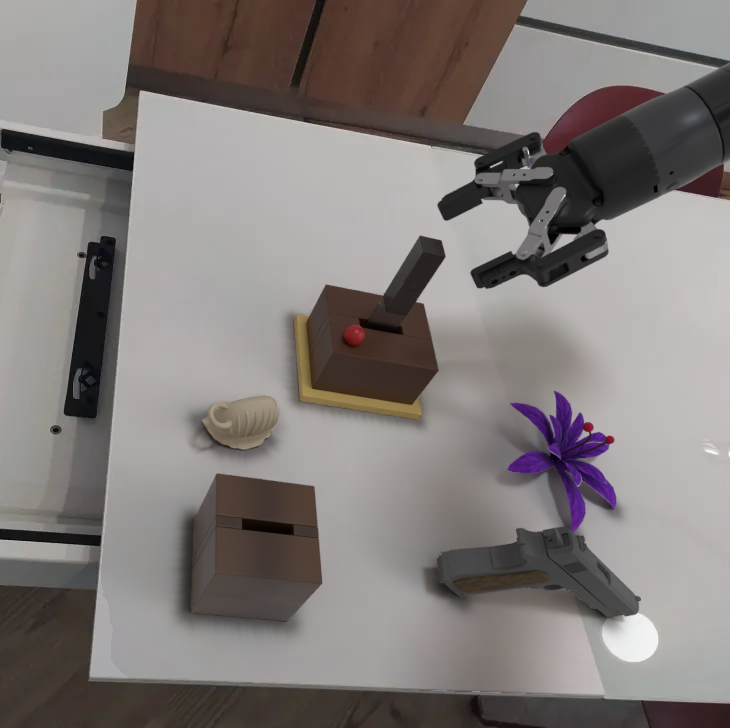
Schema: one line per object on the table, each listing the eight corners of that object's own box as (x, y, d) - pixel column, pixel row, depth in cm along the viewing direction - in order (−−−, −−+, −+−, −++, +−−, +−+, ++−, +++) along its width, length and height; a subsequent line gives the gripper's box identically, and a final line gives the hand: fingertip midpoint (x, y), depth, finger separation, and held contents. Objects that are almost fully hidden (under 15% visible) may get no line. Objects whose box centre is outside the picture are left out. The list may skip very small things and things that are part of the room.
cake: (402, 339, 83) (439, 286, 77) (418, 420, 77) (459, 369, 70) (293, 319, 81) (321, 262, 74) (299, 401, 74) (331, 346, 67)
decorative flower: (529, 370, 82) (581, 341, 76) (626, 473, 81) (686, 452, 75) (474, 446, 74) (526, 420, 68) (580, 560, 73) (643, 545, 67)
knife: (371, 357, 79) (447, 241, 66) (373, 373, 78) (451, 257, 65) (343, 352, 78) (414, 233, 65) (345, 368, 77) (418, 250, 64)
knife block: (283, 530, 64) (314, 485, 58) (287, 621, 59) (323, 583, 53) (193, 519, 62) (216, 472, 56) (190, 613, 57) (215, 572, 51)
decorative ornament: (281, 443, 70) (299, 411, 66) (199, 457, 66) (213, 425, 62) (266, 408, 72) (283, 375, 68) (185, 420, 68) (199, 386, 64)
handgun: (427, 549, 64) (564, 508, 58) (517, 613, 74) (642, 584, 68) (431, 580, 62) (573, 542, 56) (523, 641, 72) (651, 614, 66)
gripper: (597, 72, 62) (418, 167, 67) (686, 182, 54) (475, 282, 59) (606, 132, 68) (440, 216, 73) (688, 241, 60) (495, 327, 64)
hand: (456, 245), depth 66 cm, fingers open, 8 cm apart
